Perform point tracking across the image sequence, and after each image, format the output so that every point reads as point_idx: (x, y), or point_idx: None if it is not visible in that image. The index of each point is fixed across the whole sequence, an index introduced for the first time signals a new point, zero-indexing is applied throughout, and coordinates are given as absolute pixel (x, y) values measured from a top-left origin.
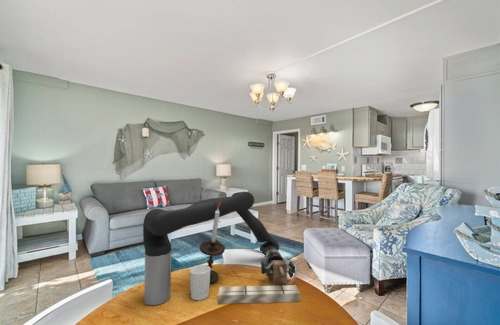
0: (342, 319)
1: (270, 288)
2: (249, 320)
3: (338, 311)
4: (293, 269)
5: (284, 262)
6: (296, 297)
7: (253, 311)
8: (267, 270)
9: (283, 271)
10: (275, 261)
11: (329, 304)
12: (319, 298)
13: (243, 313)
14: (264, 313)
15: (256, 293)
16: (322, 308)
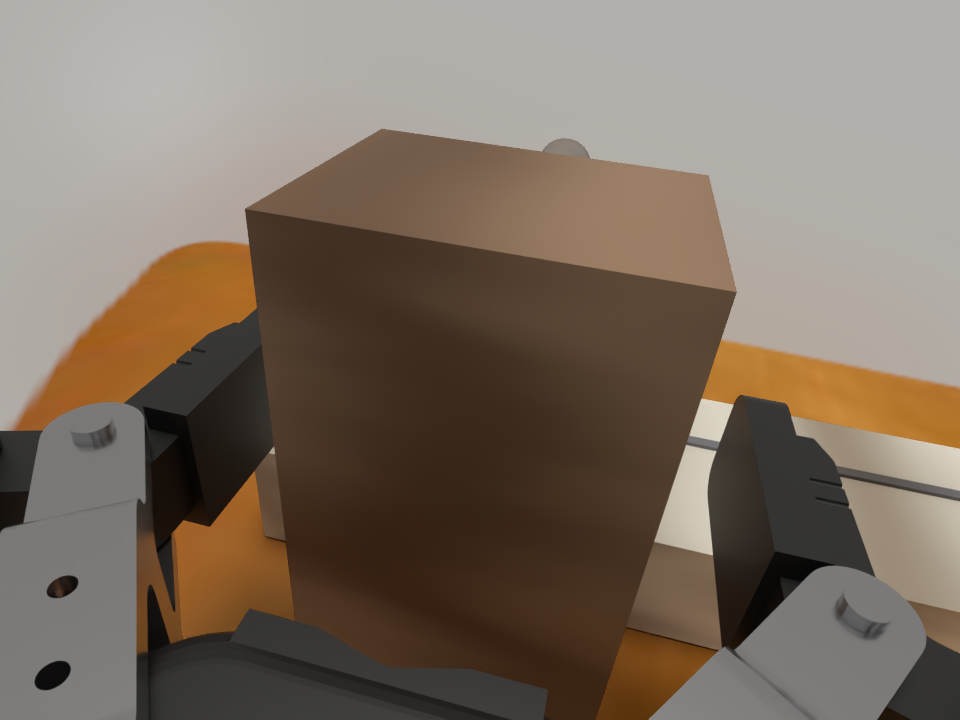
0: (229, 244)
1: (694, 487)
2: (872, 370)
3: (167, 276)
4: (20, 450)
5: (375, 162)
6: None
7: (860, 427)
8: (835, 551)
9: (548, 149)
10: (639, 236)
11: (133, 324)
12: (113, 390)
13: (953, 431)
14: (753, 388)
15: (902, 450)
16: (243, 314)
